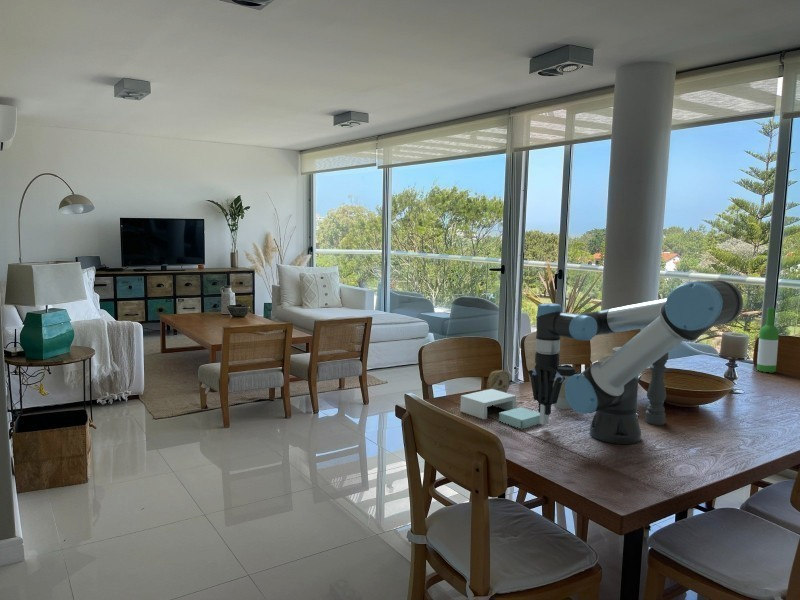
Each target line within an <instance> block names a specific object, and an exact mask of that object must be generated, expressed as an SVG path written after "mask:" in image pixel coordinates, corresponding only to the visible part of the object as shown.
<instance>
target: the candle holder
mask: <svg viewBox="0 0 800 600" xmlns="http://www.w3.org/2000/svg"><path fill="white" fill-rule="evenodd" d="M668 360H669V352H668V353H666V354H665V355H664V356H662V357H661V358H660V359H658V360H657V361H656V362H654V363H653V364H652V365H650V366H649V369H650V370H651V375H650V376H651V379H650V381H649V385H648V388H647V391H646V398H647V399H648V402H649V404H648V405H647V406H646V410H645V418H644V421H645V422H646V423H647V424H649V425H656V426H662V425H665V423H666V413H665V411H666V409H665V407H664V406H663V405H664V402H665V400H666V399H667V391H666V385H665V380H664V379H665V372H666V371H667V367H666V364H667V362H668Z"/></svg>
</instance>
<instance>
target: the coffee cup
mask: <svg viewBox="0 0 800 600" xmlns="http://www.w3.org/2000/svg"><path fill="white" fill-rule="evenodd" d="M558 370H559V374H560V375H561V376H564V377H565V380H564V381H563V383H562V385H561V389H560V393H559V396H558V400H557V403H556V404H553V407H554V408H557V409H560V410H561V409H562V410H571V409H573V408H572V407H571V406H570V405H569V403H568V402H567V400H566V397H565V383H566V381H567V380H568V378H569V377H571V376H573V375H575V374H578V370H576V369H575V367H573V366H572V364H571V365H570V364H564V365H558ZM555 378H556V377H555ZM555 381H556V380H555V379H554V382H555ZM553 386H554V384H553Z"/></svg>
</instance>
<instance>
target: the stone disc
mask: <svg viewBox="0 0 800 600" xmlns="http://www.w3.org/2000/svg"><path fill="white" fill-rule="evenodd" d="M510 383H511V382H510V375H509V373H508V372H507V371H506V370H501V369H496V370H493V371H492V372H490V373H489V376H488V378H487V383H486V390H489V389H494V390H498V391H501V392H505V393H508V390H509V389H510V388H509V387H510Z"/></svg>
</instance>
